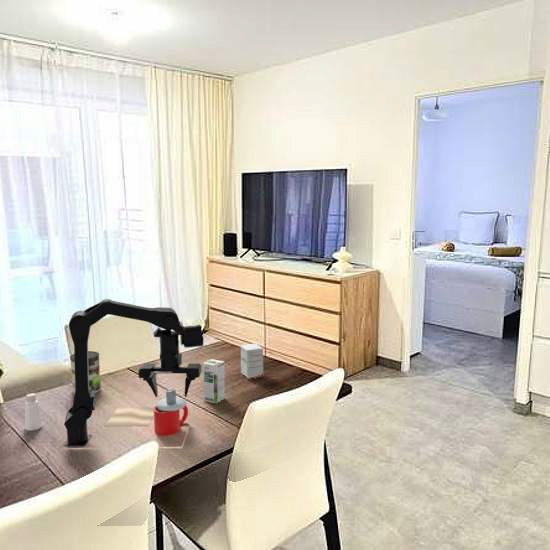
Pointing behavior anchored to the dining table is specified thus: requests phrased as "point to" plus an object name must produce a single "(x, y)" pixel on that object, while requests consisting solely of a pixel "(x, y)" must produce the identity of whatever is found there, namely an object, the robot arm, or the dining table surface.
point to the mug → (168, 421)
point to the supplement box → (251, 360)
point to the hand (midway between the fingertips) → (171, 396)
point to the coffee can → (93, 371)
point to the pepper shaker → (32, 413)
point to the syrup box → (214, 381)
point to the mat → (131, 416)
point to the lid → (171, 402)
